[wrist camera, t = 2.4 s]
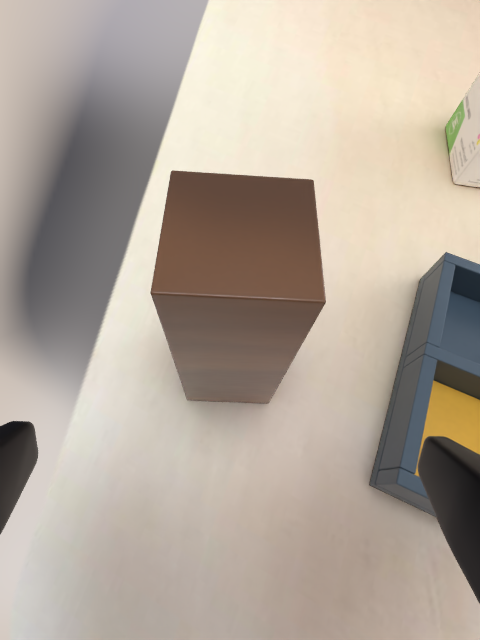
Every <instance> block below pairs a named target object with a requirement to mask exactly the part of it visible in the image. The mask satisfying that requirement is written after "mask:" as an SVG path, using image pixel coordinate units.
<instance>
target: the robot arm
mask: <svg viewBox="0 0 480 640" xmlns="http://www.w3.org/2000/svg"><path fill="white" fill-rule="evenodd" d="M37 458H38V447H37V441H36V435H35V429H34V426H33V424H32V423H31V422H23V421H12V422H9V423H7V424H4V425H2V426H0V534H1V532H2V530H3V529H4V527H5V525H6V523H7V521H8V519H9V517H10V515H11V513H12V511H13V509H14V507H15V505H16V503H17V501H18V499H19V497H20V495H21V493H22V491H23V489H24V487H25V485H26V483H27V481H28V479H29V477H30V475H31V473H32V471H33V469H34V466H35V464H36V462H37ZM418 474H419V477H420V479H421V482H422V484H423V486H424V489H425V491H426V493H427V496H428V498H429V501H430V503H431V505H432V508H433V510H434V512H435V515H436V517H437V520H438V522H439V524H440V527H441V529H442V531H443V534H444V536H445V538H446V540H447V542H448V544H449V546H450V548H451V550H452V552H453V554H454V556H455V558H456V560H457V562H458V564H459V566H460V568H461V569H462V571H463V573H464V575H465V577H466V579H467V581H468V583H469V584H470V586H471V588H472V590H473V592H474V594H475V596H476V598H477V600H478V601H479V603H480V455H479V454H477V453H475V452H474V451H472V450H470V449H468V448H466V447H464V446H462V445H461V444H459V443H457V442H455V441H453V440H451V439H449V438H447V437H444V436H428V437H427V438H426V439H425V440H424V443H423V447H422V450H421V454H420V458H419V461H418Z"/></svg>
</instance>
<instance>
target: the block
mask: <svg viewBox="0 0 480 640" xmlns="http://www.w3.org/2000/svg"><path fill="white" fill-rule="evenodd" d="M151 295H152V298H153V301H154V304H155V307H156V310H157V313H158V316H159V319H160V322H161V324H162V327H163V330H164V333H165V336H166V339H167V342H168V345H169V348H170V351H171V354H172V357H173V360H174V363H175V365H176V368H177V371H178V374H179V377H180V380H181V383H182V386H183V389H184V392H185V395H186V398H187V400H195V401H221V402H246V403H269V402H270V400H271V398H272V396H273V395H274V393H275V391H276V389H277V388H278V386H279V384H280V382H281V380H282V379H283V377H284V375H285V373H286V372H287V370H288V368H289V366H290V365H291V363H292V361H293V359H294V357H295V356H296V354H297V352H298V350H299V349H300V347H301V345H302V343H303V342H304V340H305V338H306V336H307V335H308V333H309V331H310V329H311V327H312V326H313V324H314V322H315V320H316V319H317V317H318V315H319V313H320V312H321V310H322V308H323V306H324V304H325V303H326V298H325V288H324V278H323V269H322V259H321V249H320V239H319V229H318V219H317V210H316V200H315V190H314V181H313V180H309V179H294V178H278V177H263V176H248V175H232V174H217V173H201V172H186V171H171V175H170V181H169V187H168V193H167V199H166V205H165V211H164V217H163V223H162V229H161V234H160V240H159V246H158V252H157V258H156V264H155V270H154V276H153V282H152V288H151Z"/></svg>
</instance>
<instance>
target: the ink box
mask: <svg viewBox="0 0 480 640" xmlns="http://www.w3.org/2000/svg"><path fill="white" fill-rule="evenodd" d="M446 134H447V141H448V148H449V156H450V162H451V169H452V177H453V182H454V183H455V184H459V185H466V186H473V187H480V73H479V74H478V76H477V77H476V79H475V81H474V82H473V84H472V85H471V87H470V88H469V90H468V92H467V93H466V95H465V97H464V98H463V100H462V101H461V103H460V104H459V106H458V108H457V109H456V111H455V112H454V114H453V116H452V117H451V119H450V120H449V122H448V123H447V125H446Z"/></svg>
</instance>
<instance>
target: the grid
mask: <svg viewBox="0 0 480 640" xmlns="http://www.w3.org/2000/svg"><path fill="white" fill-rule="evenodd" d="M428 436H444V437H447V438H449V439H451V440H453V441H455V442H457V443H459V444H461V445H462V446H464V447H466V448H468V449H470V450H472V451H474V452H475V453H477V454H479V455H480V264H477V263H474V262H472V261H469V260H466V259H463V258H461V257H458V256H455V255H452V254H450V253H447V252H446V253H445V254H444V255H443V256H442V257H441V258H440V259H439V260H438V261H437V262H436V263H435V264H434V265H433V266H432V267H431V268H430V269H429V271H428V272H427V273H426V274H425V275H424V276H423V277H422V278H421V279H420V282H419V286H418V290H417V294H416V298H415V302H414V306H413V310H412V314H411V319H410V323H409V327H408V331H407V335H406V339H405V343H404V347H403V351H402V355H401V359H400V363H399V367H398V371H397V375H396V379H395V383H394V387H393V391H392V395H391V399H390V403H389V408H388V412H387V416H386V420H385V424H384V428H383V432H382V436H381V440H380V444H379V448H378V452H377V456H376V460H375V464H374V468H373V472H372V476H371V480H370V486H373V487H375V488H377V489H379V490H381V491H383V492H385V493H387V494H389V495H391V496H393V497H396V498H398V499H400V500H402V501H404V502H406V503H408V504H410V505H412V506H414V507H416V508H418V509H421V510H423V511H425V512H427V513H429V514H431V515H433V516H435V517H436V515H435V512H434V510H433V508H432V505H431V503H430V501H429V498H428V496H427V493H426V491H425V489H424V486H423V484H422V482H421V479H420V477H419V474H418V461H419V458H420V454H421V450H422V447H423V443H424V440H425V439H426V438H427V437H428Z"/></svg>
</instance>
